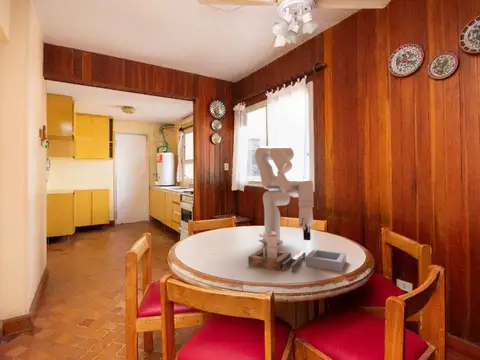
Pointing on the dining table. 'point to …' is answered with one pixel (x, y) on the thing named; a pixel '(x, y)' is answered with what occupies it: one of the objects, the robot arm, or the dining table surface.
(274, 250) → the syrup box
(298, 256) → the key
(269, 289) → the dining table surface
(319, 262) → the grey square tray
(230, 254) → the dining table surface
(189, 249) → the dining table surface
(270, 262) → the socket block
